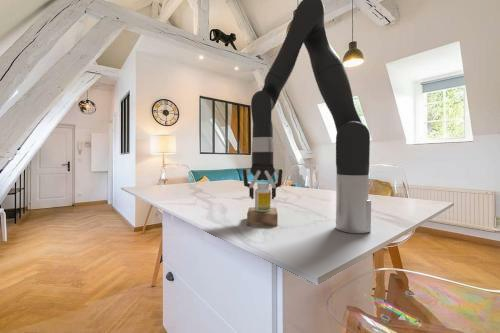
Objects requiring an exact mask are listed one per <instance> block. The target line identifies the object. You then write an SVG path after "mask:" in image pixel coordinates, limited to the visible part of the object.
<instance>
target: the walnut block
mask: <svg viewBox="0 0 500 333" xmlns="http://www.w3.org/2000/svg"><path fill="white" fill-rule="evenodd" d="M278 220H279V219H278V211H277V207H270V211H268V212H259V211H256V210H255V206H254V207H253V206H250V207H248V211H247V213H246V225H247V226H251V227H253V226H254V227H255V226H256V227H259V226H261V227H268V226H269V227H278Z"/></svg>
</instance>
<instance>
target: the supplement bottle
mask: <svg viewBox="0 0 500 333" xmlns="http://www.w3.org/2000/svg"><path fill="white" fill-rule="evenodd" d="M269 183H270V182H258V183H257V188H256V189H255V190H254V193H255V194H254V196H255V199H254V200H255V201H254V207H255V210H256V211H259V212H268V211H270V208H271V204H272V203H271V201H272V200H271V199H272V190H271V189H270V188H269V186H270V184H269Z"/></svg>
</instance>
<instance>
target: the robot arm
mask: <svg viewBox="0 0 500 333" xmlns="http://www.w3.org/2000/svg"><path fill="white" fill-rule="evenodd" d="M294 12H295V13H294V14H293V18H292V20H291V23H290V25H289V28H288V31H287V33H286V35H285V38H284V40H283V43H282V45H281V47H280V49H279V51H278V53H277V55H276V58H275V59H274V60H273V63H272V64H271V66H270V68H269V70H268V72H267V74H266V76H265V78H264V81H263V82H264V85H263V87H262V89H261V90H258V91H256V92H255V93H254V94H253V95H252V97H251V103H250V110H251V119H252V141H251V167H250V168H248V169H246V168H244V169H243V170H242V175H243V185H244V187H247V188H249V189H248V190H249V198H251V200H255V199H254V196H255V194H254V193H255V190H254V189H255V188H254V185H255V184H256V182H257V181H262V180H263V181H268V183H270V184H269V185H271V199H272V200H275V198H277V188H280V187H282V183H283V182H282V180H283V179H282V178H283V169H281V168H279V169H277V168H275V167H274V149H275V148H274V137H273V136H274V134H273V132H274V130H273V126H274V125H273V123H272V112H273V109H274V108H275V107H276V104H277V102H278V99H279V98H280V94H281V92H282V91H283V88H284V87H285V85H286V83H287V81H288V80H289V78H290V77H291V75H292V73H293V70H294V68H295V66H296V63H297V59H298V57H299V53H300V52H301V49H302V46H303V44H304V47H305V48H306V49H305V50H306V51H307V53H308V56H309V59H310V61H309V62H310V65H311V68H312V69H311V70H312V72H313V77H314V79H315V82H316V85H317V88H318V90H319V92H320V95H321V97H322V99H323V101H324V103H325V104H326V107H327V109H328V110H329V112H330V114H331V117H332V119H333V123H334V125H335V130H336V135H335V136H336V137H335V167H336V182H335V184H336V191H335V192H336V194H335V195H336V196H335V200H336V201H335V228H336V230H338V231H341V232H345V233H348V234H365V233H371V232H372V200H370V199H369V189H370V188H369V187H370V186H369V182H370V181H369V180H370V152H371V151H370V149H371V148H370V146H371V145H370V144H371V139H370V138H371V137H370V135H371V134H370V131H369V129H368V127H367V126H366V125H365V124H363V122H362V120H361V118H360V116H359V113H358V111H357V109H356V107H355V102H354V97H353V91H352V88H351V84H350V80H349V77H348V74H347V71H346V69H345V66H344V64H343V61H342V59H341V58H340V56H339V55H338V54H337V52H336V51H335V50H334V49H333V47H332V46H331V44H330V41H329V39H328V35H327V30H326V26H325V15H326V14H325V12H326V11H325V6H324V2H323V1H322V0H301V1H300V3H298V5H297V7H296V10H295V11H294ZM250 173H251V174H252V175H253V178H252V180H251V181H250V183H249V180H248V176H249V175H250ZM274 173H275V174H276V176H277V182H276V183H275V182H274V179H273V178H272V176H273V175H274Z"/></svg>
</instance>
